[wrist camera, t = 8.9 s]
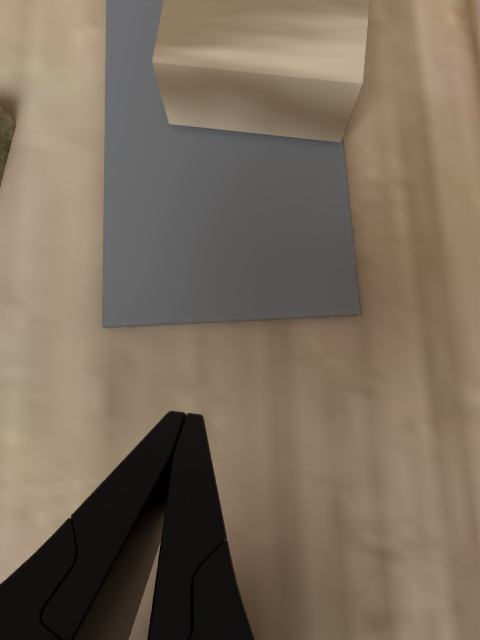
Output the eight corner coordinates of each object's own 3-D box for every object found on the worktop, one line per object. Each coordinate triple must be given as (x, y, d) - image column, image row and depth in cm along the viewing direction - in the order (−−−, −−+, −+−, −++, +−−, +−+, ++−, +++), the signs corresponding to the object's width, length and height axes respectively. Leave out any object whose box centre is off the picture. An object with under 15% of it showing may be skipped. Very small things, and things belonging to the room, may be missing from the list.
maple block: (362, 83, 19) (377, -96, 21) (151, 62, 19) (185, -113, 21) (338, 146, 24) (352, -4, 26) (170, 128, 24) (196, -19, 26)
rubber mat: (358, 315, 23) (360, 313, 22) (105, 327, 23) (102, 326, 22) (323, -23, 27) (325, -31, 26) (109, -12, 27) (106, -20, 26)
